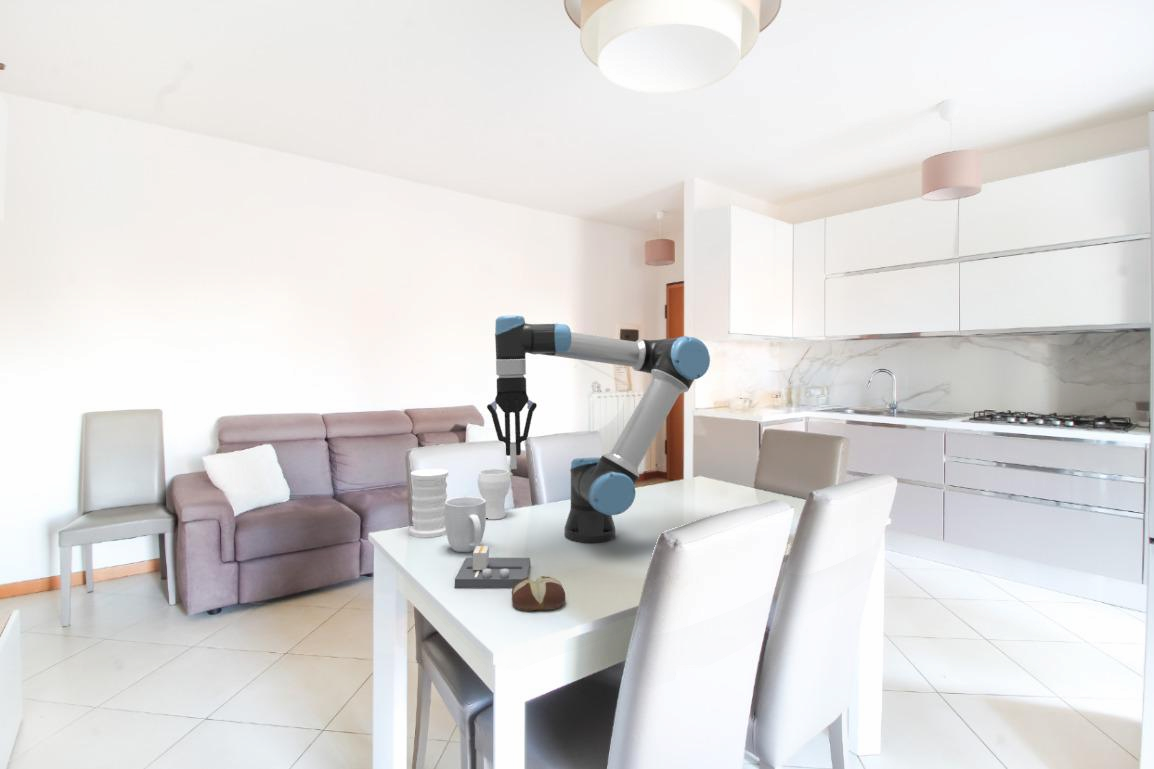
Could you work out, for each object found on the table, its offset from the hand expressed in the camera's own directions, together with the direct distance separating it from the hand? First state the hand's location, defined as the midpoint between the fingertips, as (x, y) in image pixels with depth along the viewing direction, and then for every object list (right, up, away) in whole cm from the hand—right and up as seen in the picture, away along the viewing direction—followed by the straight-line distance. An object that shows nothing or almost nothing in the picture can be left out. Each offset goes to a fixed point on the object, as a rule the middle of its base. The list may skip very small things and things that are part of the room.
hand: (513, 467), depth 142 cm
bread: (+8, -25, -25) cm, 36 cm away
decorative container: (-28, -23, +23) cm, 43 cm away
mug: (-14, -24, +8) cm, 28 cm away
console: (-3, -24, -11) cm, 27 cm away
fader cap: (-6, -22, -11) cm, 25 cm away
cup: (-11, -22, +41) cm, 48 cm away
